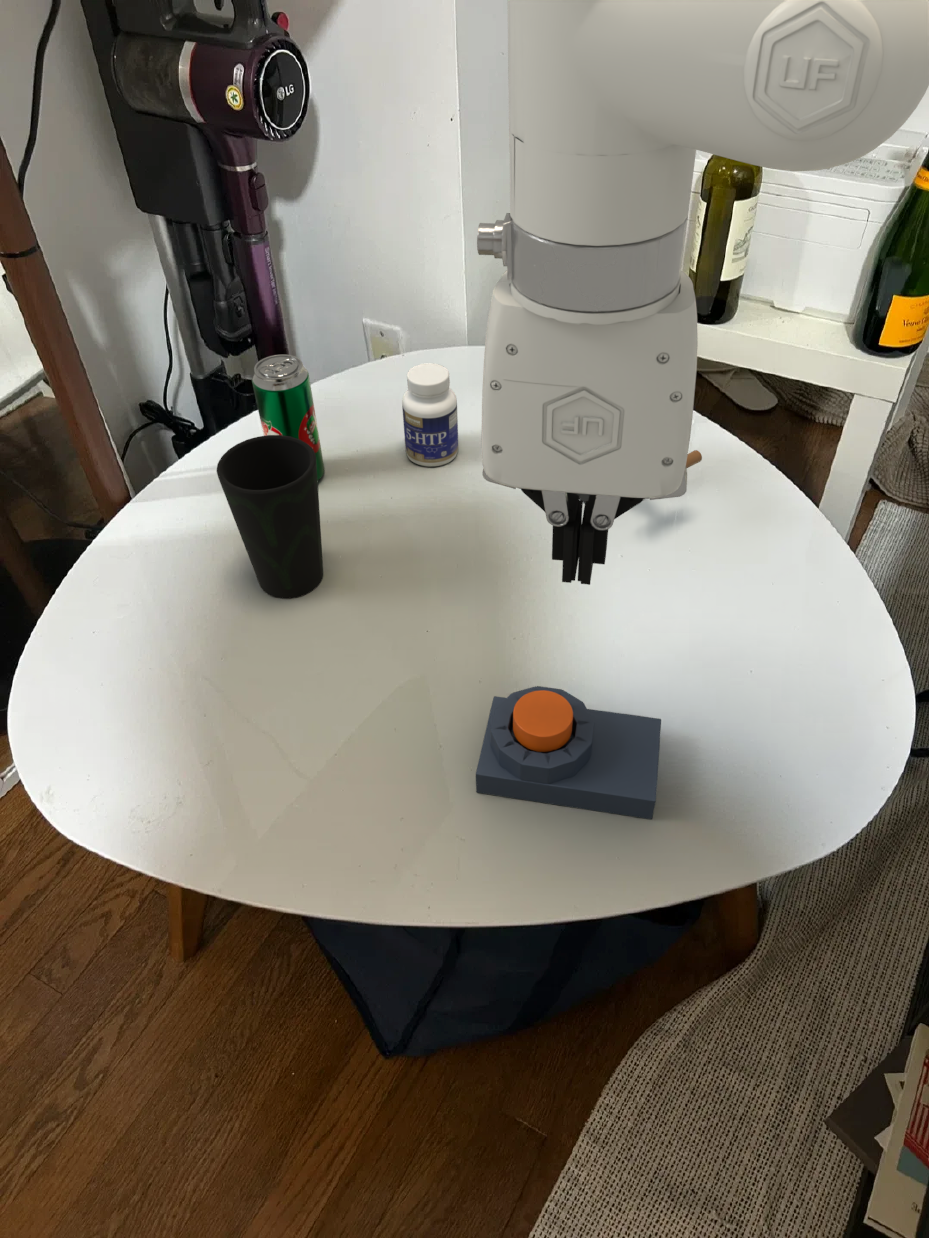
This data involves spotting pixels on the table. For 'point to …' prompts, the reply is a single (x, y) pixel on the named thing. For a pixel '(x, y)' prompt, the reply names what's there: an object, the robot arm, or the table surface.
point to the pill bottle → (430, 416)
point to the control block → (574, 760)
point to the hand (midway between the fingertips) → (578, 567)
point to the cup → (276, 511)
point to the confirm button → (542, 721)
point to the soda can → (287, 401)
